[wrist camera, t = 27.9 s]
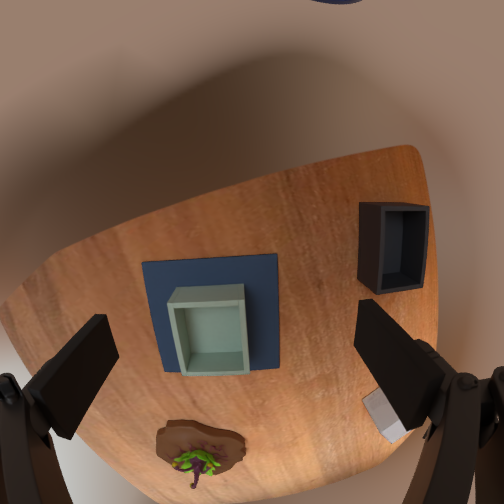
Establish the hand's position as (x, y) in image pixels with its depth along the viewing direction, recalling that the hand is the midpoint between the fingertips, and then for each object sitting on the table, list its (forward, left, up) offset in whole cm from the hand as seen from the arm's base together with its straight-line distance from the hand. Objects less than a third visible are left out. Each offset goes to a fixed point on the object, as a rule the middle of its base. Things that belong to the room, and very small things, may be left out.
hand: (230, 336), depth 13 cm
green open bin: (+13, -4, -26) cm, 29 cm away
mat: (+12, -4, -26) cm, 29 cm away
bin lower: (+1, +23, -26) cm, 35 cm away
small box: (+36, +28, -27) cm, 53 cm away
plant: (+46, -12, -27) cm, 55 cm away
